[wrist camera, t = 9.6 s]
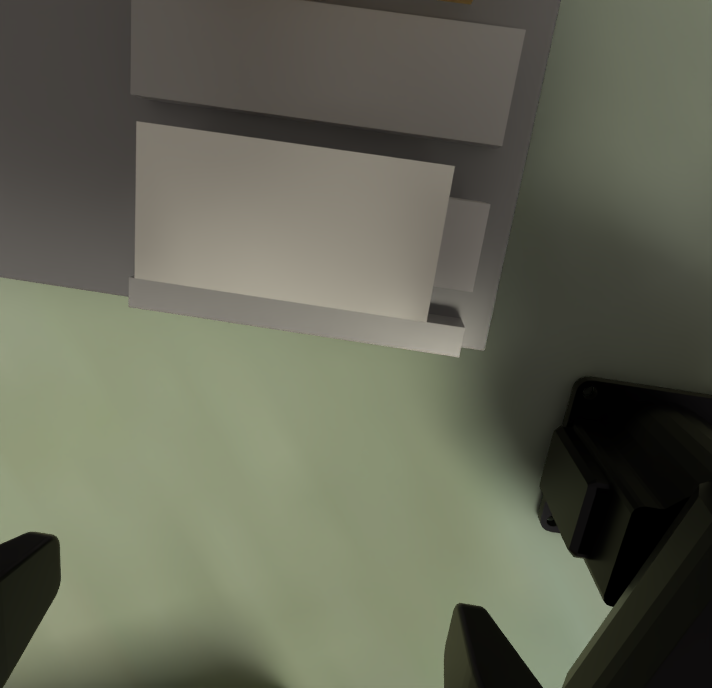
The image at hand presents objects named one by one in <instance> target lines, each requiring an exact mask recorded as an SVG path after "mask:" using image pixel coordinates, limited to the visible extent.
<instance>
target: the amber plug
mask: <svg viewBox="0 0 712 688" xmlns="http://www.w3.org/2000/svg"><path fill="white" fill-rule="evenodd" d="M440 1H447V2H455V3H463V4H470V5H471V3H472V1H473V0H440Z"/></svg>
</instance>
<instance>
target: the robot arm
mask: <svg viewBox="0 0 712 688" xmlns="http://www.w3.org/2000/svg"><path fill="white" fill-rule="evenodd" d="M587 387H593V392H592V393H591V394H589V395H583V391H584V389H585V388H587ZM540 489H541V491H542V493H543V498H542V501H541V505H540V508H539V512H538V518H539V521H540V523H541V525H542V527H543V528H544V529H545V530H547V531H550V532H556V533H561V536H562V538H563V540H564V542H565V545H566V547H567V549H568V550H569V552H570V553H571V554H572V555H573V557H577V558H583V559H584V561H585V563H586V565H587V567H588V569H589V571H590V573H591V575H592V578H593V580H594V582H595V584H596V586H597V588H598V590H599V592H600V594H601V596H602V599H603V601H604V602H605V603H606V604H607V605H609V606H612V607H613V608H612V610H611V611H610V613H609V614H608V616H607V617H606V619H605V620H604V621H603V623H602V624H601V626H600V627H599V629H598V630H597V631H596V633H595V634H594V636H593V637H592V639H591V640H590V641H589V643H588V644H587V646H586V647H585V649H584V650H583V651H582V653H581V654H580V656H579V657H578V659H577V660H576V662H575V663H574V664H573V666H572V667H571V669H570V670H569V672H568V673H567V676H566V678H565V681H564V684H563V687H562V688H712V395H707V394H701V393H694V392H688V391H681V390H675V389H668V388H661V387H655V386H648V385H642V384H635V383H629V382H622V381H616V380H609V379H602V378H596V377H583V378H580V379H579V380H577V381H576V382H575V384H574V386H573V389H572V392H571V396H570V400H569V403H568V407H567V410H566V414H565V418H564V421H563V425H562V426H560V427H559V428H557V429H556V430H555V431H554V433H553V437H552V440H551V444H550V448H549V451H548V455H547V459H546V463H545V466H544V470H543V474H542V477H541V481H540ZM552 515H553V518H554V520H547V519H548V517H550V516H552ZM60 581H61V567H60V544H59V540H58V538H57V537H56V536H54V535H52V534H46V533H40V532H28V533H25V534H22V535H20V536H18V537H16V538H13V539H11V540H9V541H7V542H4V543H2V544H0V688H3V686H4V685H5V683H6V681H7V680H8V678H9V676H10V675H11V673H12V671H13V669H14V668H15V666H16V664H17V662H18V661H19V659H20V657H21V655H22V654H23V652H24V650H25V649H26V647H27V645H28V643H29V642H30V640H31V638H32V636H33V635H34V633H35V631H36V629H37V628H38V626H39V624H40V622H41V621H42V619H43V617H44V615H45V614H46V612H47V610H48V608H49V607H50V605H51V603H52V602H53V600H54V598H55V596H56V594H57V592H58V589H59V586H60ZM444 688H543V687H542V686H541V684H540V683H539V682H538V680H537V679H536V678H535V676H534V675H533V674H532V672H531V671H530V669H529V668H528V667H527V665H526V664H525V663H524V661H523V660H522V658H521V657H520V656H519V654H518V653H517V652H516V650H515V649H514V648H513V646H512V645H511V643H510V642H509V641H508V639H507V638H506V637H505V635H504V634H503V633H502V631H501V630H500V628H499V627H498V626H497V624H496V623H495V622H494V620H493V619H492V617H491V616H490V615H489V613H488V612H487V611H486V610H485V609H484V608H483V607H481V606H476V605H470V604H464V603H459V604H457V605H456V606H455V608H454V611H453V615H452V619H451V623H450V628H449V632H448V636H447V640H446V645H445V652H444Z"/></svg>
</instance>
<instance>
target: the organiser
mask: <svg viewBox="0 0 712 688" xmlns="http://www.w3.org/2000/svg"><path fill="white" fill-rule="evenodd" d="M560 2H561V0H473V1H472V3H471V5H470V4H463V3H455V2H447V1H440V0H0V277H3V278H9V279H16V280H23V281H29V282H36V283H42V284H49V285H55V286H62V287H69V288H75V289H82V290H88V291H95V292H101V293H108V294H115V295H121V296H128V297H129V307H133V308H139V309H146V310H152V311H159V312H165V313H172V314H178V315H185V316H192V317H198V318H205V319H211V320H218V321H224V322H231V323H237V324H244V325H250V326H257V327H264V328H270V329H277V330H283V331H290V332H296V333H303V334H309V335H316V336H322V337H329V338H336V339H342V340H349V341H355V342H362V343H368V344H375V345H381V346H388V347H394V348H401V349H408V350H414V351H421V352H427V353H434V354H440V355H447V356H453V357H459V356H460V351H461V347H463V348H470V349H476V350H483V351H485V346H486V341H487V337H488V332H489V328H490V323H491V318H492V314H493V309H494V305H495V300H496V295H497V291H498V286H499V282H500V277H501V273H502V268H503V263H504V259H505V254H506V250H507V245H508V240H509V236H510V231H511V227H512V222H513V217H514V213H515V208H516V204H517V199H518V195H519V190H520V185H521V181H522V176H523V172H524V167H525V162H526V158H527V153H528V149H529V144H530V139H531V135H532V130H533V126H534V121H535V116H536V112H537V107H538V103H539V98H540V94H541V89H542V84H543V80H544V75H545V71H546V66H547V61H548V57H549V52H550V48H551V43H552V38H553V34H554V29H555V25H556V20H557V15H558V11H559V6H560ZM136 121H139V122H146V123H153V124H160V125H167V126H174V127H181V128H188V129H196V130H203V131H210V132H217V133H224V134H231V135H238V136H245V137H252V138H259V139H266V140H273V141H281V142H288V143H295V144H302V145H309V146H316V147H323V148H330V149H337V150H344V151H351V152H358V153H366V154H373V155H380V156H387V157H394V158H401V159H408V160H415V161H422V162H429V163H436V164H443V165H451V166H455V168H454V174H453V179H452V185H451V190H450V196H449V197H453V198H460V199H467V200H474V201H481V202H484V203H488V204H491V205H490V210H489V215H488V219H487V224H486V229H485V234H484V239H483V244H482V249H481V254H480V259H479V263H478V268H477V273H476V278H475V283H474V288H473V292H468V291H461V290H454V289H447V288H441V287H434V286H433V290H432V295H431V301H430V306H429V312H428V317H427V322H421V321H414V320H408V319H401V318H394V317H388V316H381V315H375V314H368V313H361V312H355V311H348V310H342V309H335V308H328V307H322V306H315V305H308V304H302V303H295V302H289V301H282V300H275V299H269V298H262V297H256V296H249V295H242V294H236V293H229V292H222V291H216V290H209V289H203V288H196V287H189V286H183V285H176V284H170V283H163V282H156V281H150V280H143V279H137V278H135V196H136Z"/></svg>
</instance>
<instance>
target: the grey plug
mask: <svg viewBox="0 0 712 688" xmlns="http://www.w3.org/2000/svg"><path fill="white" fill-rule="evenodd" d="M454 168H455V166H451V165H443V164H436V163H429V162H422V161H415V160H408V159H401V158H394V157H387V156H380V155H373V154H366V153H358V152H351V151H344V150H337V149H330V148H323V147H316V146H309V145H302V144H295V143H288V142H281V141H273V140H266V139H259V138H252V137H245V136H238V135H231V134H224V133H217V132H210V131H203V130H196V129H188V128H181V127H174V126H167V125H160V124H153V123H146V122H139V121H136V196H135V278H137V279H143V280H150V281H156V282H163V283H170V284H176V285H183V286H189V287H196V288H203V289H209V290H216V291H222V292H229V293H236V294H242V295H249V296H256V297H262V298H269V299H275V300H282V301H289V302H295V303H302V304H308V305H315V306H322V307H328V308H335V309H342V310H348V311H355V312H361V313H368V314H375V315H381V316H388V317H394V318H401V319H408V320H414V321H421V322H427V317H428V312H429V306H430V301H431V295H432V290H433V286H434V287H441V288H447V289H454V290H461V291H468V292H473V288H474V283H475V278H476V273H477V268H478V263H479V259H480V254H481V249H482V244H483V239H484V234H485V229H486V224H487V219H488V215H489V210H490V205H491V204H488V203H484V202H481V201H474V200H467V199H460V198H453V197H449V196H450V190H451V185H452V179H453V174H454Z"/></svg>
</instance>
